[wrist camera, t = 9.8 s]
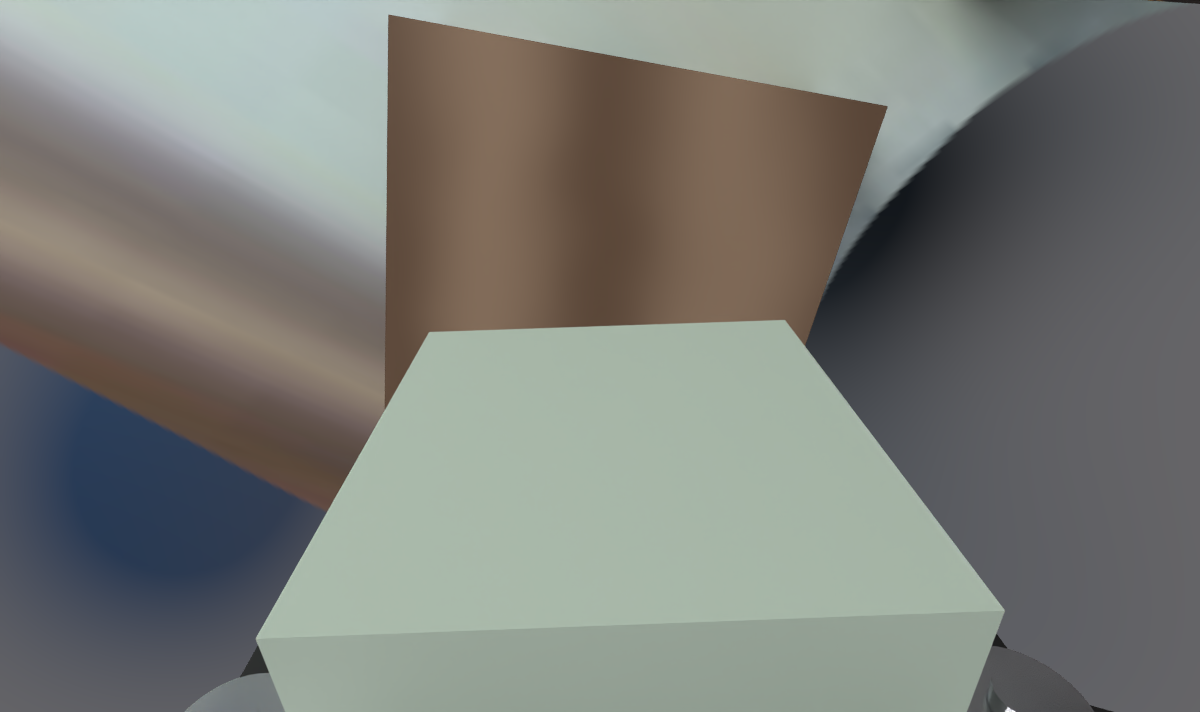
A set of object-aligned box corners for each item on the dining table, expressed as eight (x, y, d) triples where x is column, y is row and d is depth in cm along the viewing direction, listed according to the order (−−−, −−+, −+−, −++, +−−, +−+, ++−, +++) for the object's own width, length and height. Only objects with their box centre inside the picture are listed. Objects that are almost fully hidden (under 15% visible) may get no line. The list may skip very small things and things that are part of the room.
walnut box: (812, 93, 21) (887, 106, 16) (721, 406, 27) (753, 492, 22) (441, 25, 20) (388, 14, 15) (426, 366, 26) (384, 448, 21)
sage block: (784, 319, 9) (1004, 609, 4) (754, 580, 12) (875, 955, 7) (429, 331, 9) (255, 637, 4) (472, 590, 12) (390, 973, 7)
